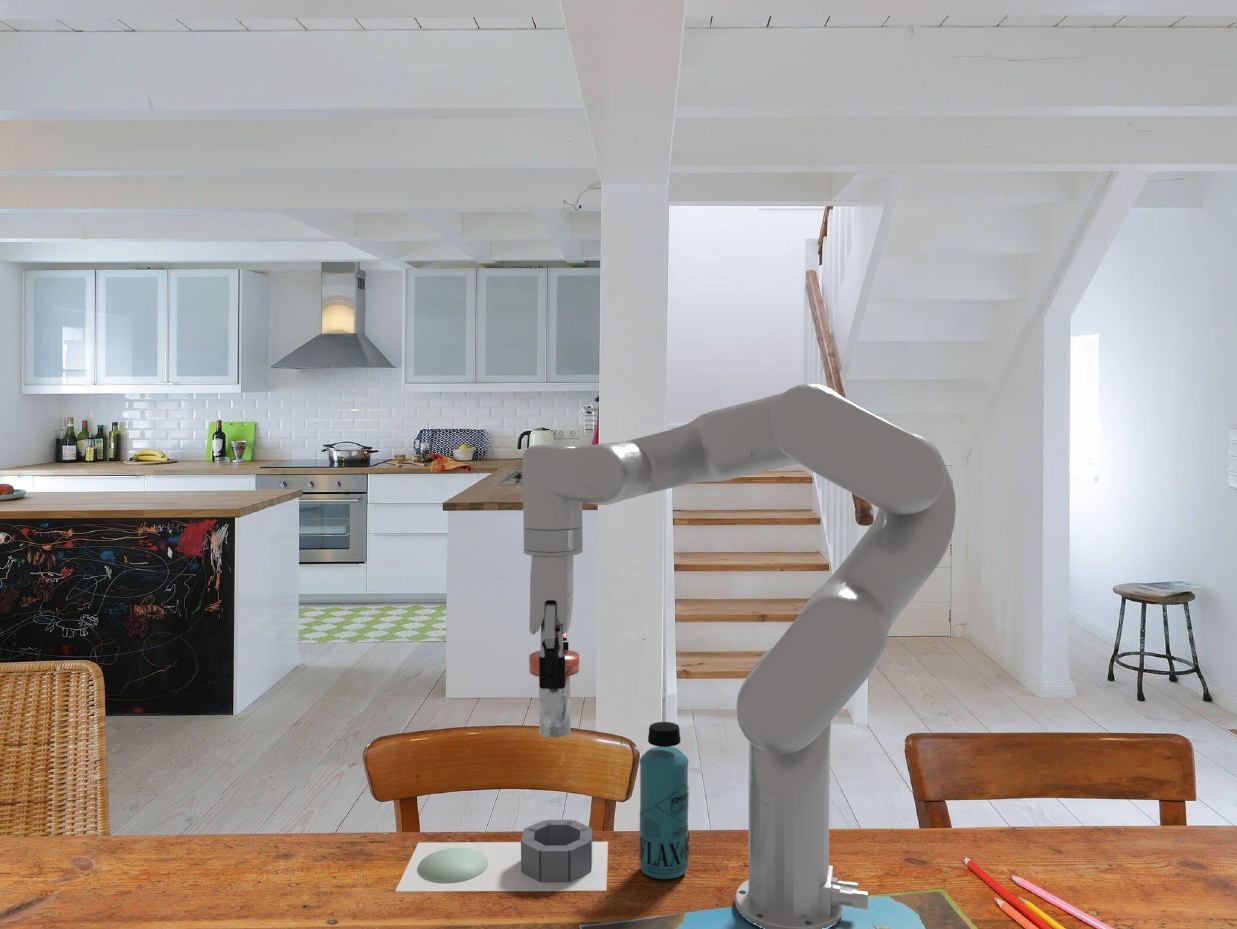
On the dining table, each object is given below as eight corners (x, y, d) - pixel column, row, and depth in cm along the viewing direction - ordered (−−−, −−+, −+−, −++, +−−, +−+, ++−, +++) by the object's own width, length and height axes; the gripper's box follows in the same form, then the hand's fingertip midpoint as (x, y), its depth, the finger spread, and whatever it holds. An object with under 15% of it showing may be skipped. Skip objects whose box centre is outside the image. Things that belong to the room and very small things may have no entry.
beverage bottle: (629, 884, 116) (629, 729, 115) (652, 861, 122) (651, 713, 121) (676, 896, 113) (676, 737, 112) (697, 872, 119) (697, 721, 118)
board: (608, 848, 126) (607, 813, 126) (606, 898, 113) (606, 858, 113) (418, 849, 126) (417, 814, 126) (395, 899, 113) (394, 859, 113)
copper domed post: (540, 721, 123) (539, 647, 122) (586, 726, 121) (585, 650, 120) (522, 738, 116) (521, 660, 116) (570, 742, 115) (569, 663, 114)
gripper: (530, 533, 126) (532, 662, 127) (516, 551, 109) (517, 700, 110) (585, 532, 126) (586, 661, 127) (579, 550, 109) (580, 700, 110)
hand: (554, 678), depth 118 cm, fingers closed on copper domed post, 6 cm apart
